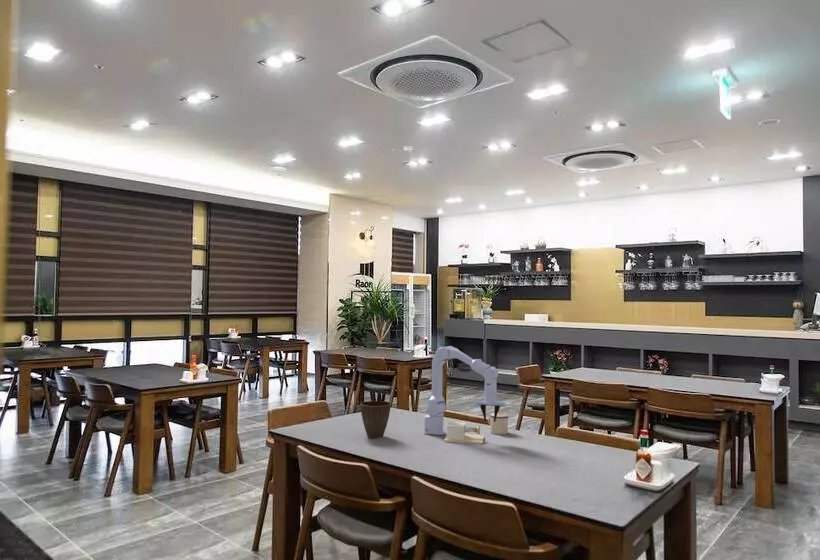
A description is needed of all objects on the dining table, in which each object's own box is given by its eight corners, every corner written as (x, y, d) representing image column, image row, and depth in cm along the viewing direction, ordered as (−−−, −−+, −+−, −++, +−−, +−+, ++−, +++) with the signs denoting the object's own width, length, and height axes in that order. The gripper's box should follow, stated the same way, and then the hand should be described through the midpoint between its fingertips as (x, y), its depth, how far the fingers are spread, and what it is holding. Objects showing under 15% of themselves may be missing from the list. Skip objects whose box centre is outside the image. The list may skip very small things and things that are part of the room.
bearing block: (444, 441, 269) (444, 426, 269) (447, 435, 283) (447, 420, 283) (482, 444, 266) (482, 428, 266) (483, 437, 280) (484, 422, 280)
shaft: (453, 433, 273) (453, 425, 274) (454, 432, 277) (454, 424, 277) (479, 435, 271) (479, 427, 271) (479, 433, 275) (479, 425, 275)
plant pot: (354, 438, 273) (354, 404, 273) (367, 431, 286) (368, 399, 287) (382, 441, 267) (383, 407, 268) (395, 435, 281) (395, 402, 281)
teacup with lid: (511, 433, 289) (512, 410, 290) (499, 435, 284) (499, 412, 284) (494, 429, 299) (494, 406, 299) (482, 431, 293) (482, 408, 294)
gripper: (474, 393, 270) (474, 422, 270) (505, 394, 268) (505, 423, 267) (475, 390, 277) (475, 419, 277) (505, 392, 275) (505, 420, 274)
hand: (489, 421), depth 273 cm, fingers open, 4 cm apart
